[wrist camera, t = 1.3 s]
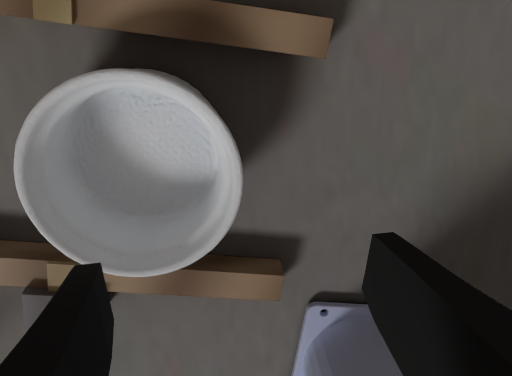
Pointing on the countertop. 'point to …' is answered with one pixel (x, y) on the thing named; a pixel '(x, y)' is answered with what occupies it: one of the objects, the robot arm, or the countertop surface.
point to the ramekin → (128, 171)
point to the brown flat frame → (182, 27)
